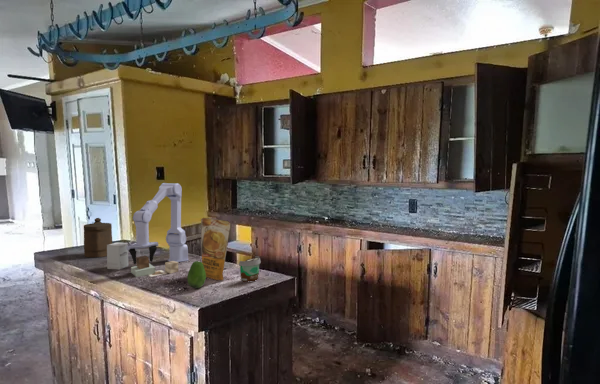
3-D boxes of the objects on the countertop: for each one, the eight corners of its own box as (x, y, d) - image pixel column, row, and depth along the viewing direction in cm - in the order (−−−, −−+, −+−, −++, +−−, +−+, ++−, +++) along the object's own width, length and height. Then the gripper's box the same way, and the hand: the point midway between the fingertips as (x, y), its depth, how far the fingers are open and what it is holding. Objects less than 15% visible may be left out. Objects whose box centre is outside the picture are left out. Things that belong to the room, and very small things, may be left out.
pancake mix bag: (206, 271, 187) (206, 216, 185) (232, 279, 175) (232, 220, 173) (195, 274, 182) (195, 218, 180) (221, 282, 170) (220, 222, 168)
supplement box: (119, 270, 189) (118, 245, 188) (106, 269, 190) (106, 244, 189) (129, 266, 196) (128, 242, 195) (116, 265, 197) (116, 241, 196)
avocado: (204, 290, 159) (204, 263, 158) (185, 290, 158) (185, 263, 157) (207, 284, 167) (207, 258, 166) (189, 284, 166) (189, 258, 165)
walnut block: (146, 265, 186) (145, 255, 185) (149, 267, 182) (148, 257, 182) (136, 267, 183) (136, 257, 182) (139, 269, 179) (139, 259, 179)
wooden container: (99, 251, 230) (98, 215, 228) (118, 253, 225) (117, 217, 223) (78, 256, 216) (77, 219, 214) (97, 258, 211) (96, 220, 209)
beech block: (173, 270, 189) (172, 260, 188) (178, 272, 186) (178, 262, 186) (165, 272, 185) (165, 262, 185) (170, 274, 183) (170, 264, 182)
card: (161, 270, 188) (161, 269, 188) (167, 274, 182) (167, 273, 182) (145, 273, 183) (145, 272, 183) (150, 277, 177) (150, 276, 177)
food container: (249, 284, 167) (249, 263, 166) (239, 282, 170) (238, 261, 169) (265, 277, 177) (266, 257, 177) (255, 275, 181) (255, 255, 180)
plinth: (150, 269, 189) (149, 263, 189) (155, 273, 182) (155, 267, 182) (131, 273, 183) (130, 267, 183) (136, 277, 176) (135, 271, 176)
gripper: (128, 238, 174) (129, 266, 175) (160, 234, 183) (160, 261, 184) (124, 235, 179) (125, 263, 180) (155, 232, 188) (156, 258, 189)
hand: (143, 262), depth 182 cm, fingers open, 7 cm apart
